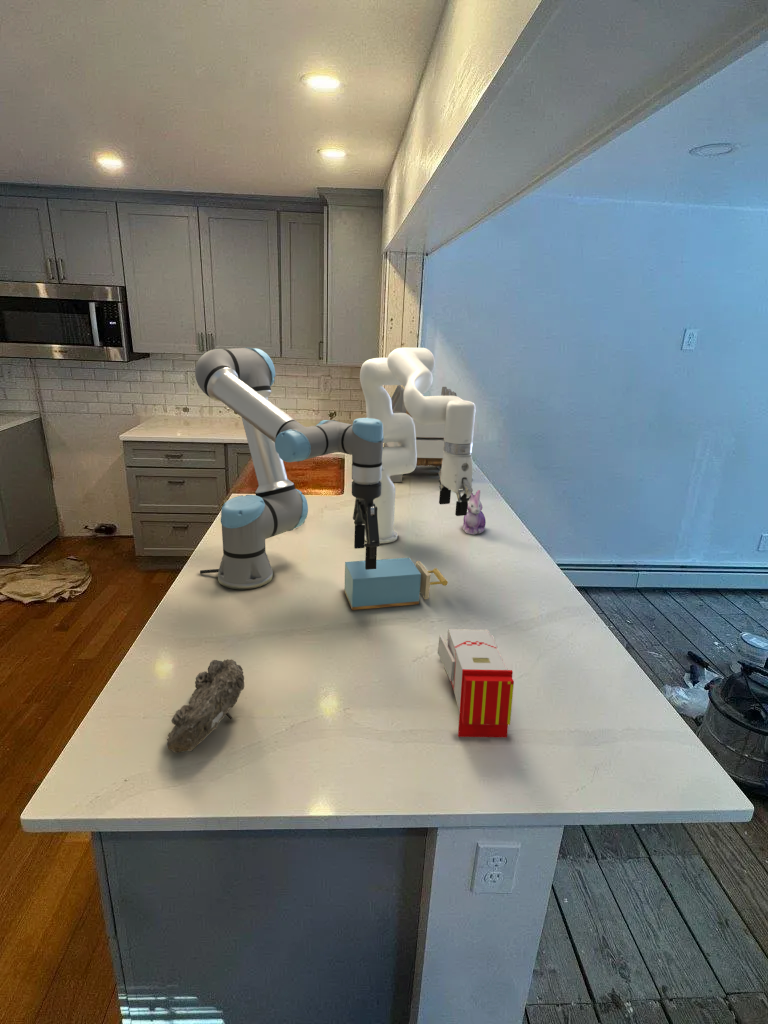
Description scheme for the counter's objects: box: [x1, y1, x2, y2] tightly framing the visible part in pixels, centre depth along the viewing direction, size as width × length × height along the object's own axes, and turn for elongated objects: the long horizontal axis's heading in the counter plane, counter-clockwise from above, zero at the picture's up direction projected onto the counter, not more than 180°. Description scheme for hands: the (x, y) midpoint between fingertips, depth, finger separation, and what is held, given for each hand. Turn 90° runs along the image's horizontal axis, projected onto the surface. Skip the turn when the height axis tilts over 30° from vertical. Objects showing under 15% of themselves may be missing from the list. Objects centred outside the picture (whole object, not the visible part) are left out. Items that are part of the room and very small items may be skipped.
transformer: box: [383, 385, 458, 483], centre depth 268 cm, size 34×33×41 cm
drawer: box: [415, 560, 449, 600], centre depth 156 cm, size 23×9×7 cm, turn 105°
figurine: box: [462, 489, 487, 535], centre depth 203 cm, size 9×10×15 cm
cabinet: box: [343, 557, 421, 611], centre depth 154 cm, size 18×11×9 cm, turn 105°
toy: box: [437, 628, 515, 738], centre depth 117 cm, size 12×13×30 cm
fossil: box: [166, 658, 245, 754], centre depth 106 cm, size 22×10×15 cm
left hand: (364, 558), depth 150 cm, fingers open, 13 cm apart
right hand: (452, 509), depth 155 cm, fingers open, 9 cm apart
